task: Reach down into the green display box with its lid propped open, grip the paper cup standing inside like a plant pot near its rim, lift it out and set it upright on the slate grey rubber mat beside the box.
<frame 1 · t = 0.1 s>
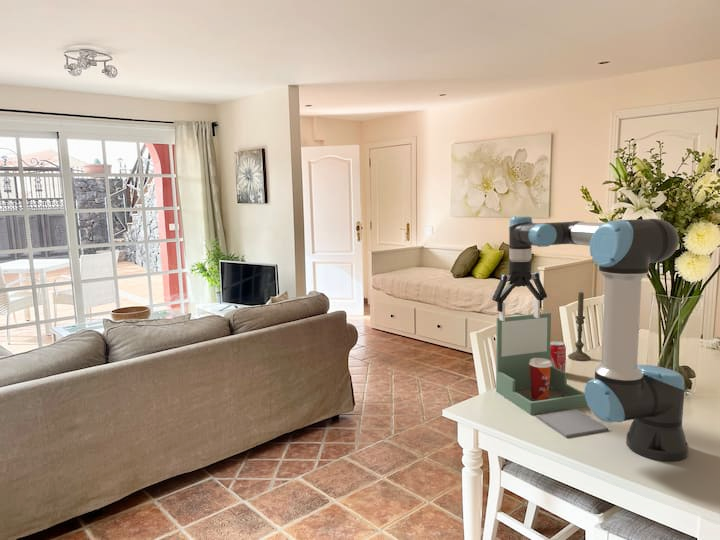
hand: (519, 319, 185), 28 cm above the table, tool pointing down, fingers open, 13 cm apart
rubber mat: (571, 423, 163), on the table
candlestick holder: (579, 358, 227), on the table
green display box: (539, 398, 183), on the table
paper cup: (539, 399, 183), resting in green display box
soda can: (555, 374, 208), on the table
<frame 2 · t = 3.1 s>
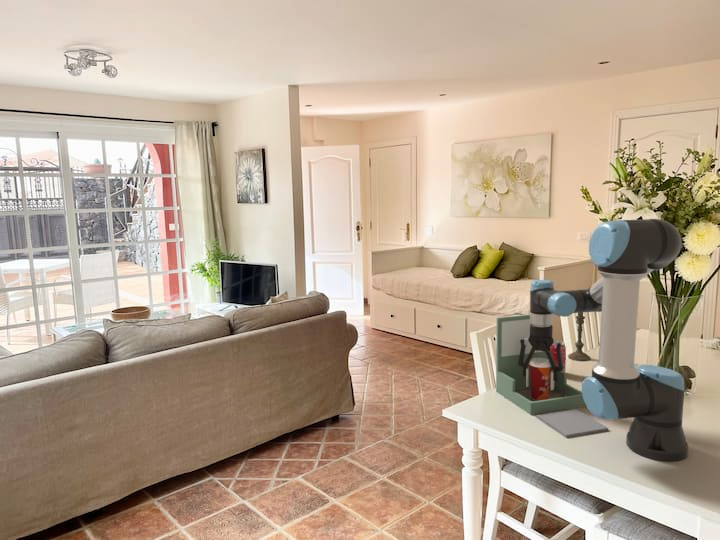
hand: (540, 387, 183), 4 cm above the table, tool pointing down, fingers closed on paper cup, 8 cm apart
paper cup: (539, 399, 184), resting in green display box, touching gripper
everything else where it was.
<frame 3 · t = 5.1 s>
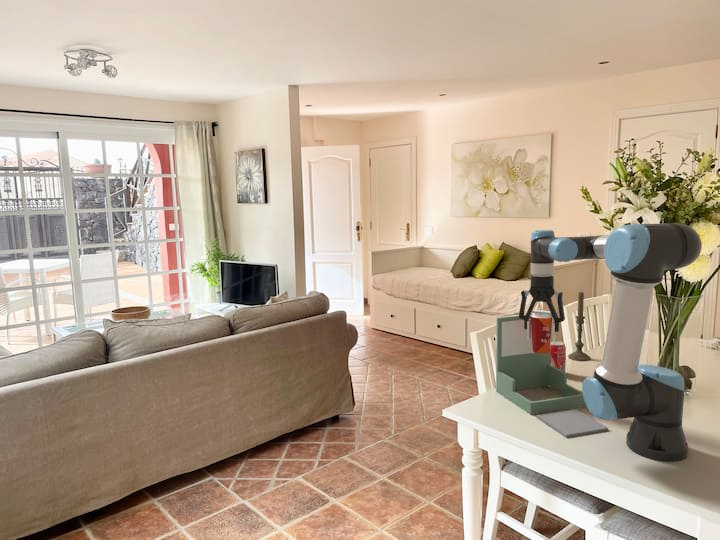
hand: (541, 339, 180), 22 cm above the table, tool pointing down, fingers closed on paper cup, 8 cm apart
paper cup: (541, 351, 181), point 17 cm above the table, touching gripper
everything else where it was.
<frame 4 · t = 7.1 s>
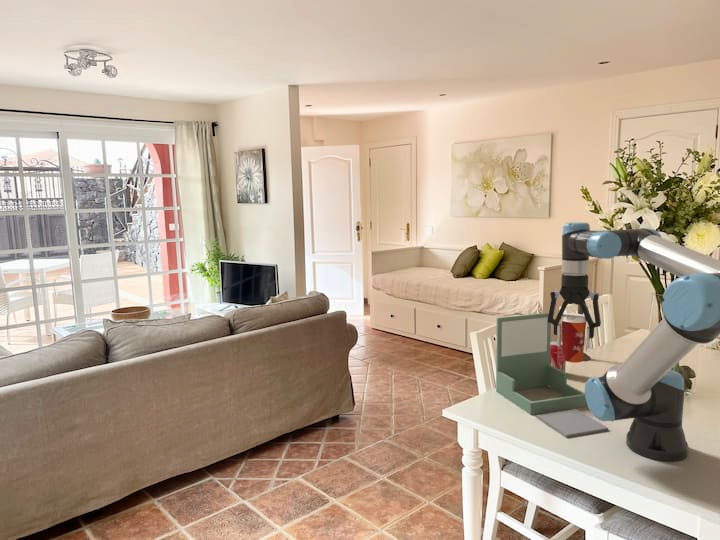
hand: (573, 346, 159), 25 cm above the table, tool pointing down, fingers closed on paper cup, 8 cm apart
paper cup: (572, 360, 160), point 21 cm above the table, touching gripper
everything else where it was.
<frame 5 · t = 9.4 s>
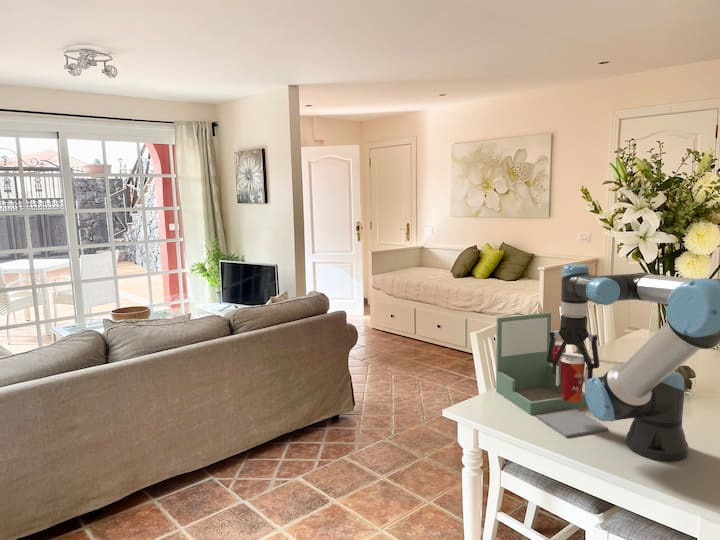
hand: (571, 386, 161), 12 cm above the table, tool pointing down, fingers closed on paper cup, 8 cm apart
paper cup: (571, 399, 162), point 8 cm above the table, touching gripper
everything else where it was.
when the fingers open (6 cm above the table, at t = 11.1 s): paper cup drops 1 cm, resting on rubber mat.
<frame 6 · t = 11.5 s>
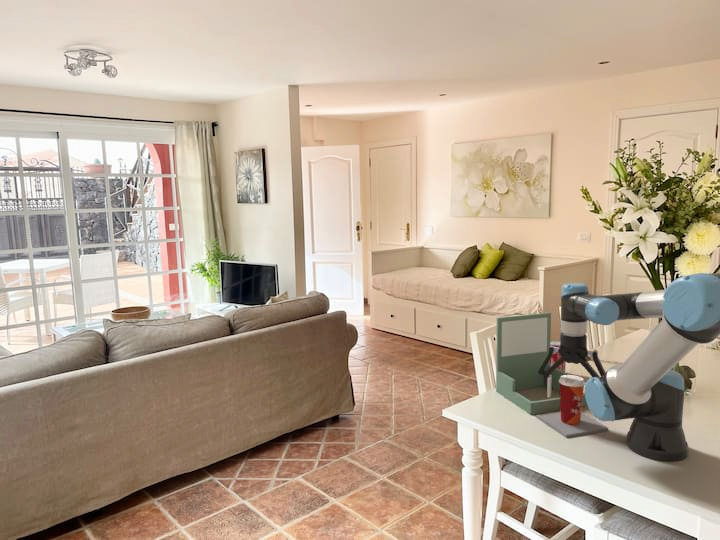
hand: (571, 399, 162), 8 cm above the table, tool pointing down, fingers open, 13 cm apart
paper cup: (570, 421, 163), point 1 cm above the table, touching rubber mat
everything else where it was.
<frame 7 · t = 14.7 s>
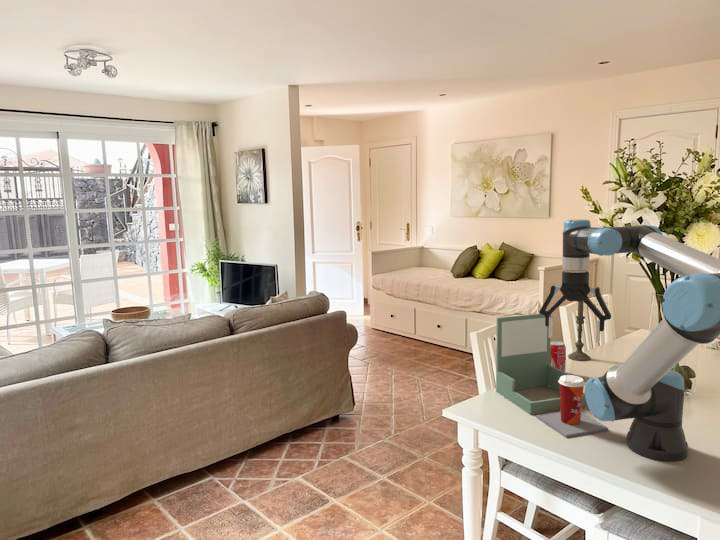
hand: (573, 339, 159), 28 cm above the table, tool pointing down, fingers open, 13 cm apart
nothing on the table moved.
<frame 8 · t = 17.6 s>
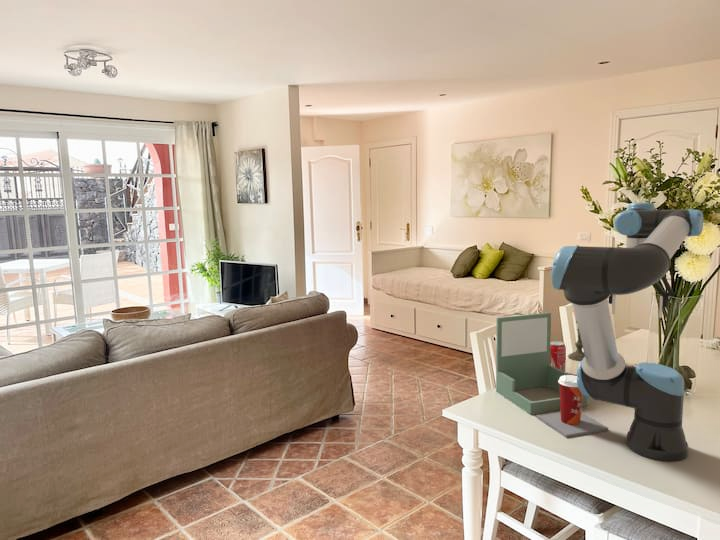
hand: (636, 315, 169), 32 cm above the table, tool pointing down, fingers open, 13 cm apart
nothing on the table moved.
at the end: paper cup inside the target area on the rubber mat (0.2 cm from its centre), point 0.6 cm above the rubber mat's base; paper cup tilted 0°; the gripper is holding nothing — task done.
